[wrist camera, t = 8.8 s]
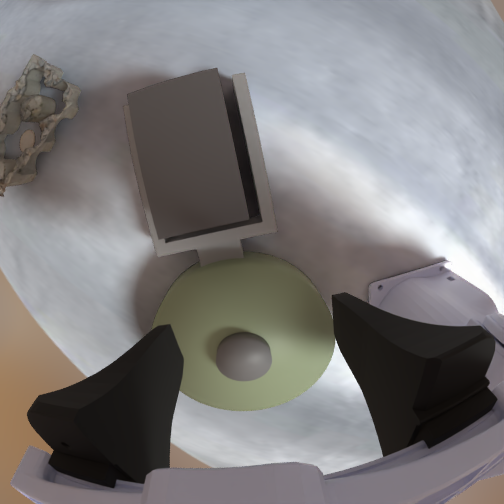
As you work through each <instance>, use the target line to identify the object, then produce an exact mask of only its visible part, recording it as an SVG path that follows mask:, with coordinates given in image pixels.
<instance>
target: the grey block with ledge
mask: <svg viewBox="0 0 504 504" xmlns="http://www.w3.org/2000/svg"><path fill="white" fill-rule="evenodd" d="M127 97H128V104H129V110H130V116H131V122H132V128H133V134H134V139H135V144H136V149H137V154H138V159H139V164H140V168H141V173H142V177H143V182H144V186H145V190H146V194H147V198H148V203H149V206H150V210H151V214H152V218H153V222H154V225H155V229H156V233H157V236H158V240H160V239H165V238H169V237H173V236H177V235H182V234H186V233H190V232H195V231H199V230H204V229H208V228H212V227H217V226H222V225H226V224H231V223H235V222H240V221H245V220H250V219H249V214H248V209H247V204H246V199H245V194H244V189H243V185H242V180H241V175H240V171H239V166H238V161H237V156H236V152H235V147H234V142H233V138H232V133H231V128H230V124H229V119H228V114H227V110H226V105H225V100H224V96H223V91H222V87H221V82H220V78H219V73H218V69H217V68H214V69H209V70H205V71H201V72H196V73H193V74H189V75H185V76H181V77H178V78H174V79H171V80H168V81H164V82H161V83H158V84H155V85H152V86H149V87H146V88H143V89H141V90H138V91H135V92H132V93H130V94H127Z"/></svg>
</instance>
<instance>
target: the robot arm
mask: <svg viewBox="0 0 504 504" xmlns="http://www.w3.org/2000/svg"><path fill="white" fill-rule="evenodd" d="M440 267H441V268H440ZM380 285H381V287H380V288H379V289H378V287H379V286H380ZM332 307H333V327H334V335H335V338H336V341H337V344H338V346H339V349H340V351H341V353H342V355H343V357H344V359H345V360H346V362H347V364H348V366H349V368H350V369H351V371H352V373H353V375H354V377H355V379H356V380H357V382H358V384H359V386H360V388H361V390H362V392H363V395H364V397H365V400H366V403H367V405H368V408H369V411H370V414H371V416H372V419H373V422H374V425H375V429H376V432H377V435H378V439H379V442H380V446H381V450H382V454H383V457H382V458H380V459H377V460H374V461H371V462H368V463H366V464H362V465H359V466H356V467H353V468H350V469H346V470H343V471H339V472H335V473H331V474H327V475H323V473H322V472H321V471H320V469H319V468H318V467H317V466H314V465H311V464H305V463H299V462H287V463H271V464H263V465H255V466H244V467H230V468H170V466H169V465H170V464H169V463H170V457H169V456H170V438H171V427H172V420H173V414H174V410H175V406H176V402H177V398H178V394H179V390H180V386H181V381H182V377H183V367H184V357H183V355H182V353H181V350H180V348H179V345H178V343H177V340H176V337H175V335H174V332H173V330H172V327H171V324H167V325H159V326H157V327H155V328H154V329H153V330H152V331H150V332H149V333H148V334H147V335H146V336H144V337H143V338H142V339H141V340H140V341H139V342H138V343H136V344H135V345H134V346H133V347H132V348H131V349H129V350H128V351H127V352H126V353H124V354H123V355H122V356H121V357H119V358H118V359H117V360H116V361H114V362H113V363H111V364H110V365H108V366H107V367H105V368H104V369H102V370H101V371H99V372H97V373H96V374H94V375H92V376H90V377H88V378H86V379H84V380H82V381H80V382H78V383H76V384H74V385H71V386H69V387H66V388H63V389H61V390H57V391H54V392H50V393H46V394H43V395H39V396H38V397H37V399H36V400H35V401H34V403H33V404H32V406H31V407H30V409H29V410H28V412H27V416H28V420H29V422H30V424H31V426H32V427H33V428H34V429H35V431H36V432H37V433H38V434H39V435H40V436H41V437H42V439H43V440H44V441H45V442H46V443H47V444H48V445H49V446H50V447H51V448H52V449H53V450H54V451H53V453H52V455H50V454H49V453H47V452H45V451H43V450H41V449H38V448H35V447H33V446H29V447H28V449H27V451H26V452H25V454H24V456H23V458H22V460H21V462H20V464H19V466H18V468H17V470H16V472H15V474H14V476H13V478H12V480H11V483H10V484H11V486H13V487H14V488H15V489H16V490H18V491H19V492H20V493H22V494H23V495H24V496H26V497H27V498H28V499H30V500H31V501H33V502H34V503H36V504H445V503H446V502H448V501H450V500H451V499H453V498H454V497H456V496H457V495H459V494H460V493H462V492H463V491H465V490H466V489H468V488H469V487H470V486H472V485H473V484H475V483H476V482H477V481H479V480H483V479H487V478H491V477H495V476H498V475H502V474H504V315H502V314H500V313H498V310H497V307H496V305H495V303H494V302H493V300H492V299H491V298H490V297H489V295H487V294H486V293H485V292H483V291H482V290H480V289H479V288H477V287H476V286H474V285H473V284H471V283H469V282H468V281H466V280H465V279H463V278H462V277H460V276H458V275H457V274H455V273H454V272H452V271H451V262H450V261H448V260H446V261H443V262H440V263H437V264H434V265H431V266H428V267H424V268H421V269H418V270H414V271H411V272H408V273H404V274H401V275H398V276H394V277H391V278H387V279H383V280H380V281H376V282H373V283H371V284H370V286H369V304H368V303H366V302H364V301H362V300H360V299H358V298H356V297H354V296H352V295H350V294H348V293H345V292H344V293H340V294H336V295H332Z"/></svg>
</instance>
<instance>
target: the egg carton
mask: <svg viewBox="0 0 504 504" xmlns="http://www.w3.org/2000/svg"><path fill="white" fill-rule="evenodd" d="M43 76H44V77H45V80H44V85H45V86H46V87H53V88H56V89H59V90H61V91H65V92H64V93H63V100H62V101H63V102H65V104H66V106H65V108H64V109H63V111H62V112H61V113H60V114H59V115H58V114H54V113H55V109H56V103H55V100H54V99H52V98H49V97H46V96H42V95H39V93H40V90H41V85H40V81H41V79H42V78H43ZM62 76H63V71H62V70H61V69H60V68H57V67H55V66H53V65H51V64H49V63H47V61H45V60H44V59H42V58H40V57H38V56H36V55H34V54H33V55H32V57H31V59H30V61H29V63H28V65H27V66H26V68H25V70H24V72H23V75H22V77H21V78H20V79H19V80H17V81H16V85H15V86H14V87H13V88H12V89H10V90H9V91H8V93H7V95H6V98H5V100H4V102H3V103H2V105H1V106H0V177H1V179H0V196H3V197H4V195H3V193H4V192H5V188H6V186H7V187H9V186H16V185H21V184H25V183H28V182H32V181H33V180H34V179H35V177H36V175H37V171H36V159H37V156H38V155H39V153H40V152H45V151H46V152H50V151H51V149H52V147H53V145H54V143H55V141H56V140H55V135H54V132H55V129H56V126H57V124H58V123H59V122H60V121H61V120H62V119H64V118H69V119H73V117H74V116H75V115H76V114H77V112H78V110H79V108H78V104H77V101H78V97H79V95H80V93H81V90H80V88H78V87H77V86H75V85H73V84H70V83H68V82H66V81H65V80H63V79H61V77H62ZM20 111H21V114H20ZM21 116H22V121H23V122H38V123H39V127H40V128H41V132H42V133H41V142H40V144H39V145H38V146H36V147H33V146H34V144H35V133H34V131H33V130H26V131H25V132H24V133H23V135H22V136H21V139H20V150H21V151H22V154H21V156H20V157H18V158H17V159H16V160H15V159H4V155H5V150H6V147H5V142H4V141H5V138H6V136H7V134H14V133H15V132H16V131H17V130H18V128H19V126H20V123H21Z"/></svg>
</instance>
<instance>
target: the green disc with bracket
mask: <svg viewBox="0 0 504 504" xmlns="http://www.w3.org/2000/svg"><path fill="white" fill-rule="evenodd" d="M232 82H233V89H234V94H235V98H236V103H237V107H238V112H239V117H240V121H241V126H242V130H243V135H244V140H245V145H246V149H247V154H248V159H249V164H250V168H251V173H252V178H253V183H254V188H255V193H256V198H257V203H258V208H259V213H260V215H259V216H254V217H249V219H250V220H245V221H240V222H235V223H231V224H226V225H222V226H217V227H212V228H208V229H204V230H199V231H195V232H190V233H186V234H182V235H177V236H173V237H169V238H165V239H160V240H158V236H157V233H156V229H155V225H154V222H153V218H152V214H151V210H150V206H149V203H148V198H147V194H146V190H145V186H144V182H143V177H142V173H141V168H140V164H139V159H138V154H137V149H136V144H135V139H134V134H133V128H132V122H131V116H130V110H129V104H128V105H125V106H123V109H124V116H125V122H126V128H127V134H128V139H129V145H130V150H131V155H132V160H133V164H134V169H135V174H136V178H137V183H138V187H139V191H140V195H141V199H142V203H143V207H144V211H145V215H146V219H147V222H148V226H149V230H150V233H151V237H152V240H153V244H154V247H155V250H156V254H157V257H162V256H166V255H171V254H175V253H180V252H184V251H189V250H194V249H196V250H197V253H198V257H199V261H200V262H198V263H196V264H195V265H193V266H191V267H190V268H188V269H187V270H186V271H185V272H183V273H182V274H181V275H180V276H179V277H178V278H177V279H176V281H175V282H174V283H173V284H172V286H171V287H170V289H169V290H168V292H167V294H166V296H165V298H164V300H163V302H162V304H161V305H160V307H159V309H158V312H157V314H156V316H155V318H154V322H153V326H152V330H153V329H154V328H155V327H157V326H159V325H167V324H171V327H172V330H173V332H174V335H175V337H176V340H177V343H178V345H179V348H180V350H181V353H182V355H183V357H184V367H183V377H182V381H181V386H180V391H181V392H182V393H184V394H185V395H187V396H188V397H190V398H192V399H194V400H196V401H198V402H200V403H203V404H205V405H208V406H211V407H215V408H219V409H224V410H232V411H254V410H261V409H266V408H271V407H274V406H277V405H281V404H283V403H285V402H288V401H290V400H292V399H294V398H296V397H297V396H299V395H301V394H302V393H303V392H305V391H306V390H308V389H309V388H310V387H311V386H312V385H313V384H314V383H315V382H316V381H317V380H318V379H319V378H320V377H321V375H322V374H323V373H324V371H325V370H326V368H327V366H328V364H329V362H330V360H331V358H332V355H333V352H334V347H335V335H334V327H333V319H332V316H331V313H330V311H329V309H328V307H327V305H326V304H325V302H324V300H323V299H322V297H321V295H320V294H319V292H318V290H317V289H316V287H315V286H314V285H313V283H312V282H311V280H310V279H309V278H308V277H307V276H306V275H305V274H304V273H303V272H302V271H300V270H299V269H298V268H296V267H295V266H293V265H292V264H290V263H288V262H286V261H284V260H282V259H280V258H277V257H274V256H271V255H267V254H263V253H257V252H248V251H244V252H243V247H242V243H241V239H246V238H250V237H255V236H260V235H265V234H270V233H275V232H278V230H277V225H276V219H275V214H274V209H273V203H272V198H271V193H270V188H269V183H268V178H267V173H266V168H265V163H264V158H263V153H262V148H261V143H260V139H259V134H258V129H257V125H256V120H255V115H254V111H253V106H252V102H251V97H250V93H249V89H248V84H247V80H246V76H245V73H241V74H235V75H232Z"/></svg>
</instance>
